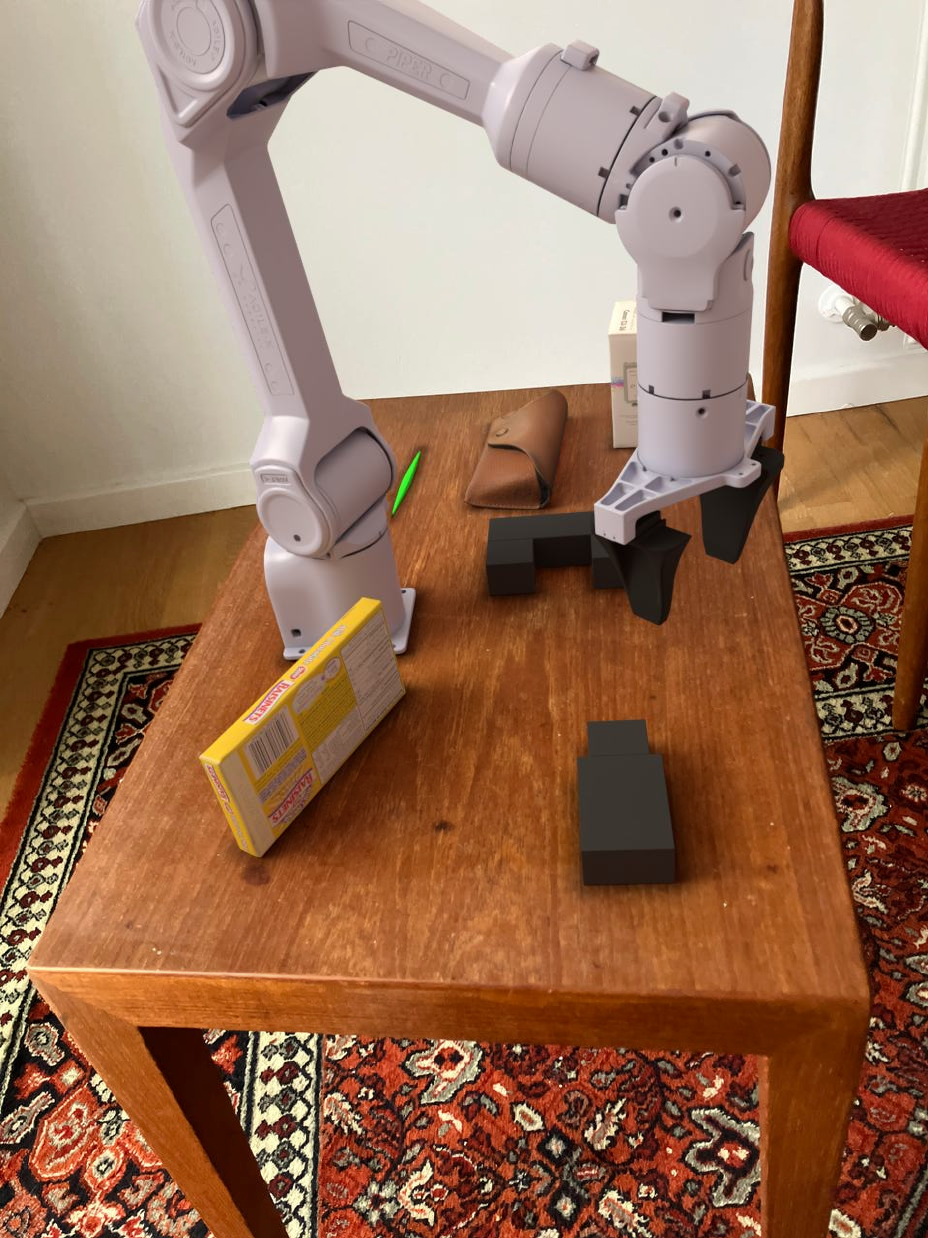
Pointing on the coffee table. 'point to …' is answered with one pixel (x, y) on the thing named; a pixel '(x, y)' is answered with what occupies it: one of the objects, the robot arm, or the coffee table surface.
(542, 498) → the sunglasses case
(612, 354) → the ink cartridge box
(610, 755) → the pad
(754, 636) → the coffee table surface
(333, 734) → the candy box
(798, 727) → the coffee table surface
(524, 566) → the notch pad
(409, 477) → the green spindle
